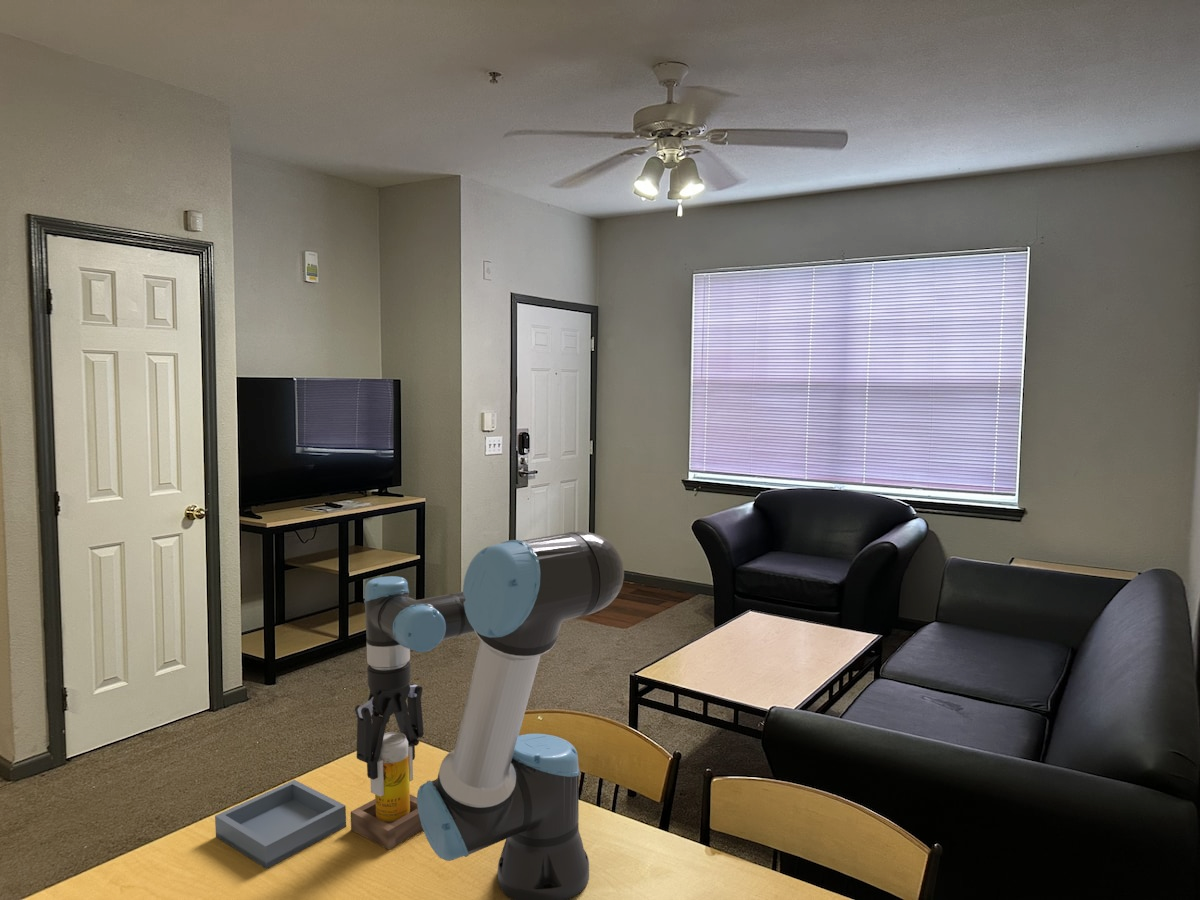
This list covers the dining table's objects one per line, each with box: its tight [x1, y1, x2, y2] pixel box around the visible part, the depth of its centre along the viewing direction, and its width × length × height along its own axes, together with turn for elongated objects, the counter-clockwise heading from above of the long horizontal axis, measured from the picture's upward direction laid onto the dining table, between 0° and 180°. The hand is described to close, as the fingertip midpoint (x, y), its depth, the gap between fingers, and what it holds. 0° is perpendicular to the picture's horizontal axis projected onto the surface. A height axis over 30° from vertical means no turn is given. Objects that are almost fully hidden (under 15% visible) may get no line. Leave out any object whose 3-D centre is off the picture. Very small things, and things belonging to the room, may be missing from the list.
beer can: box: [374, 731, 411, 824], centre depth 149 cm, size 6×6×15 cm
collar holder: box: [350, 794, 423, 851], centre depth 150 cm, size 10×10×4 cm
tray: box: [214, 779, 347, 870], centre depth 148 cm, size 16×16×4 cm
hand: (392, 785), depth 149 cm, fingers closed on beer can, 6 cm apart
